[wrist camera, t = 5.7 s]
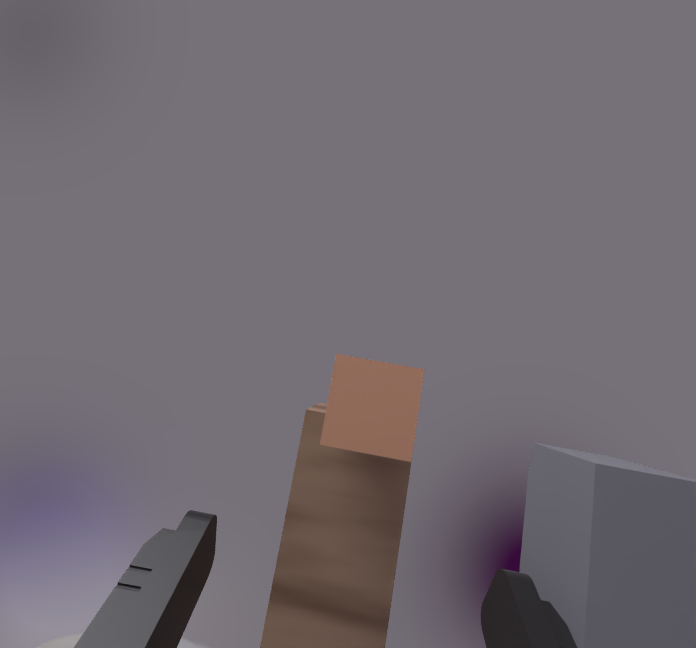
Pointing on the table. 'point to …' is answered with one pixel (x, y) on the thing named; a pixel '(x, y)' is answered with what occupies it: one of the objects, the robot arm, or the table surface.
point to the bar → (372, 407)
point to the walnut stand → (336, 547)
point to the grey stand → (612, 548)
